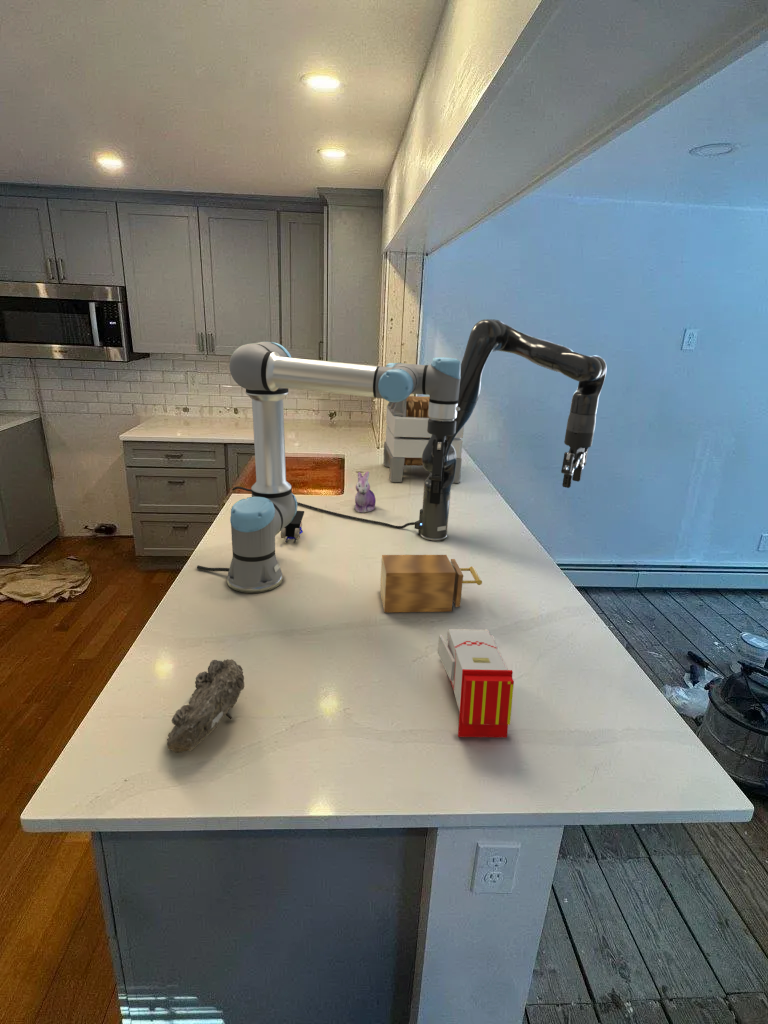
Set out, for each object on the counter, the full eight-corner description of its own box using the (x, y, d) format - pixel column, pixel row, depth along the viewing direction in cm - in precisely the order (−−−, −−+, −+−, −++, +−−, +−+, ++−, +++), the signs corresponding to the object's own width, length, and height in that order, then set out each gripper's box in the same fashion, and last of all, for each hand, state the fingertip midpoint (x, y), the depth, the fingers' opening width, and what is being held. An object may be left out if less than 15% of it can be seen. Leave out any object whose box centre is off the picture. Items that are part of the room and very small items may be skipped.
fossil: (192, 660, 117) (244, 628, 112) (224, 691, 120) (276, 661, 115) (142, 746, 98) (202, 712, 93) (182, 779, 101) (242, 748, 96)
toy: (488, 613, 130) (523, 677, 101) (484, 667, 133) (517, 744, 104) (435, 612, 130) (455, 676, 101) (432, 666, 133) (451, 743, 103)
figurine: (359, 514, 216) (360, 476, 211) (348, 506, 225) (349, 469, 220) (381, 511, 220) (382, 474, 215) (369, 503, 229) (371, 467, 224)
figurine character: (300, 549, 187) (305, 527, 200) (299, 528, 183) (305, 508, 197) (279, 548, 187) (286, 527, 200) (279, 528, 183) (285, 507, 197)
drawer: (471, 589, 160) (474, 558, 157) (480, 606, 151) (484, 574, 148) (393, 589, 158) (395, 559, 155) (397, 607, 148) (399, 575, 145)
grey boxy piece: (382, 463, 289) (386, 382, 275) (445, 464, 293) (451, 384, 279) (390, 482, 257) (394, 392, 243) (460, 483, 261) (468, 394, 247)
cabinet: (443, 591, 160) (446, 554, 156) (451, 611, 150) (455, 572, 146) (380, 592, 158) (381, 554, 154) (384, 612, 148) (386, 572, 144)
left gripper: (455, 428, 137) (448, 511, 144) (457, 411, 160) (451, 483, 167) (424, 426, 138) (418, 509, 145) (431, 410, 161) (426, 481, 168)
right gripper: (575, 423, 167) (567, 476, 173) (558, 430, 156) (549, 486, 162) (601, 427, 163) (591, 481, 169) (585, 434, 152) (575, 492, 158)
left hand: (436, 495), depth 156 cm, fingers open, 13 cm apart
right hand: (571, 483), depth 165 cm, fingers open, 8 cm apart
